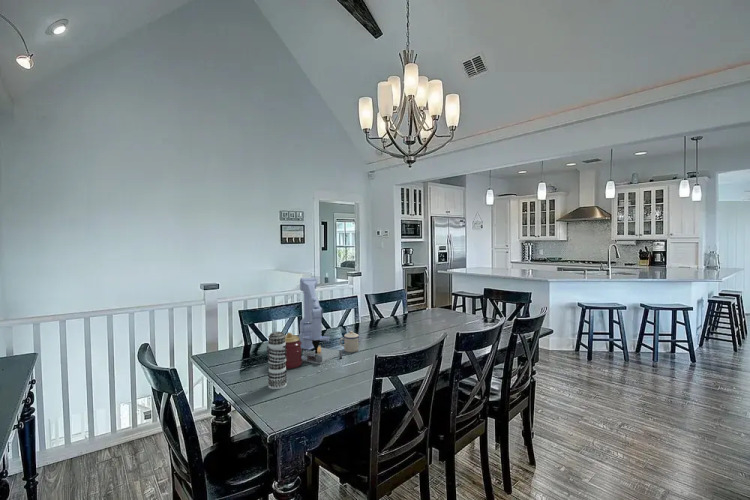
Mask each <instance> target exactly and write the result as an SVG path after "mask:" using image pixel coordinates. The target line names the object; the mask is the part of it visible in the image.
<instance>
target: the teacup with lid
mask: <svg viewBox="0 0 750 500" xmlns="http://www.w3.org/2000/svg"><path fill="white" fill-rule="evenodd" d="M359 336H360V335H359V334H357V333H355V332H354V331H353V330H350V331H349V332H348V333H345V334H344V336H343V337H340V338H339V341H338V343H339V344H340V346H341V347H344V351H345V352H346V353H355V352H358V351H359ZM342 340H343V343H344V344H342Z"/></svg>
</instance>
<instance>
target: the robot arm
mask: <svg viewBox="0 0 750 500" xmlns="http://www.w3.org/2000/svg"><path fill="white" fill-rule="evenodd" d="M317 287H318V279H317V277H300V279H299V288H300V289H299V290H300V292H302V293H303V309H304V310H303V316H304V317H303V318H302V319H301V320H300V321H299V332H300V333H299V334H298V337H300V341H301V342H302V344H301V348H302V350H303V349H304V350H307V351H311V350H313V349H314V350H315V354H317V349H318V345H320V343H321V341H325V342H326V341H327V342H330V336H325V335H322V319H323V315H324V313H323V308H322V307H321V305H320V301H319V298H318V297H317V296H316V289H317Z"/></svg>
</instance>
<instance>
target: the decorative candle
mask: <svg viewBox="0 0 750 500" xmlns="http://www.w3.org/2000/svg"><path fill="white" fill-rule="evenodd" d="M286 335H287V334H285V333H284V332H282V331H273V332H271V333H270V334H269V335H268V336H267V338H268V345H267V346H266V349H267V351H266V352H267V354H266V355H267V362H268V372H267V373H268V375H267V378H268V379H267V380H268V382H267V384H268V388H269V389H271V390H279V389H280V390H281V389H284V388H285V387H286V386H287V385H288V384H287V381H288V379H287V378H288V377H287V371H288V369H287V368H286V366H285V362H286V358H287V357H286V356H285V355H286V354H287V352H285V351H287V349H286V347H287V345H286V342H285V336H286Z"/></svg>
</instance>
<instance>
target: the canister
mask: <svg viewBox="0 0 750 500" xmlns="http://www.w3.org/2000/svg"><path fill="white" fill-rule="evenodd" d="M285 335H286V336H285V342H286V345H287V347H286V349H287V351H285V352H287V354H286V355H285V356H286V357H287V358H286V362H285V366H286V369H296V368H298V367H301V365H302V364H303V361H302V356H303V355H302V353H303V351H302V350H303V348H301V344H302V342H301V341H300V337H299V335H296V334H293V333H292V332H287V334H285Z"/></svg>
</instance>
